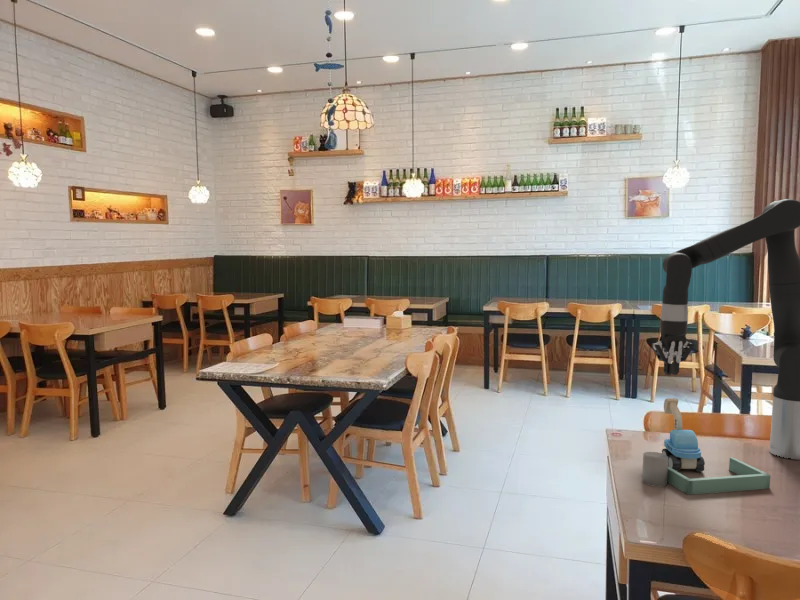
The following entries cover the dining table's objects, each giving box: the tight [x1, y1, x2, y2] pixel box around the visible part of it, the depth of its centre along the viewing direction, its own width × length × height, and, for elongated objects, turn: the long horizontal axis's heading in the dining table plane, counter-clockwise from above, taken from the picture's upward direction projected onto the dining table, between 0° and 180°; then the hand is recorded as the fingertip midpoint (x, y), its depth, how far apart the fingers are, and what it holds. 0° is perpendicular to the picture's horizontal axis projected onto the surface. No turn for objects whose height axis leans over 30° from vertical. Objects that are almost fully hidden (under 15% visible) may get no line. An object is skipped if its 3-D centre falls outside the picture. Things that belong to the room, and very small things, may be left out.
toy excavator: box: [661, 397, 706, 473], centre depth 166 cm, size 9×17×17 cm, turn 174°
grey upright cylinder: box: [641, 451, 669, 488], centre depth 153 cm, size 6×6×7 cm
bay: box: [667, 457, 771, 496], centre depth 154 cm, size 23×13×4 cm, turn 101°
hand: (671, 374), depth 181 cm, fingers closed
